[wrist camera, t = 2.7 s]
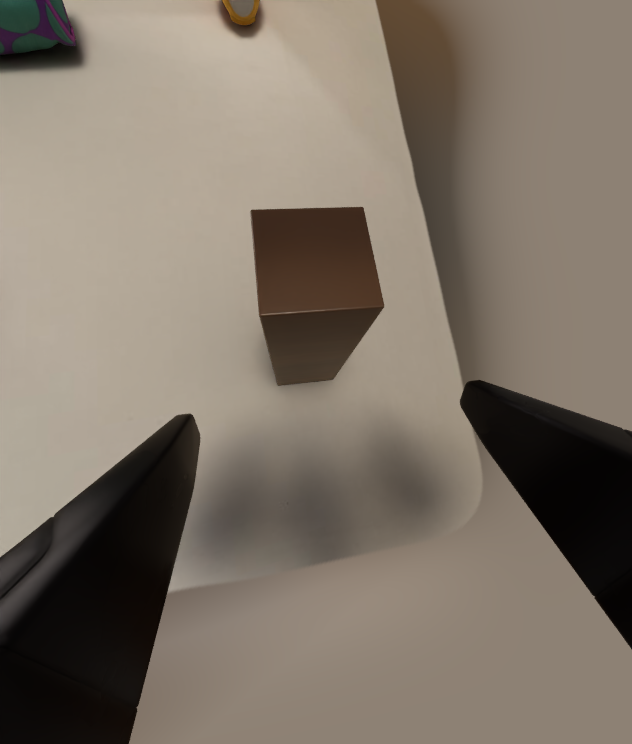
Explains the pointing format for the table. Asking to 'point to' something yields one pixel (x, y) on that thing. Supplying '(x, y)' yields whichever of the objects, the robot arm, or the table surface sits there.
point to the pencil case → (33, 25)
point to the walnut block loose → (314, 288)
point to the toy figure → (242, 10)
